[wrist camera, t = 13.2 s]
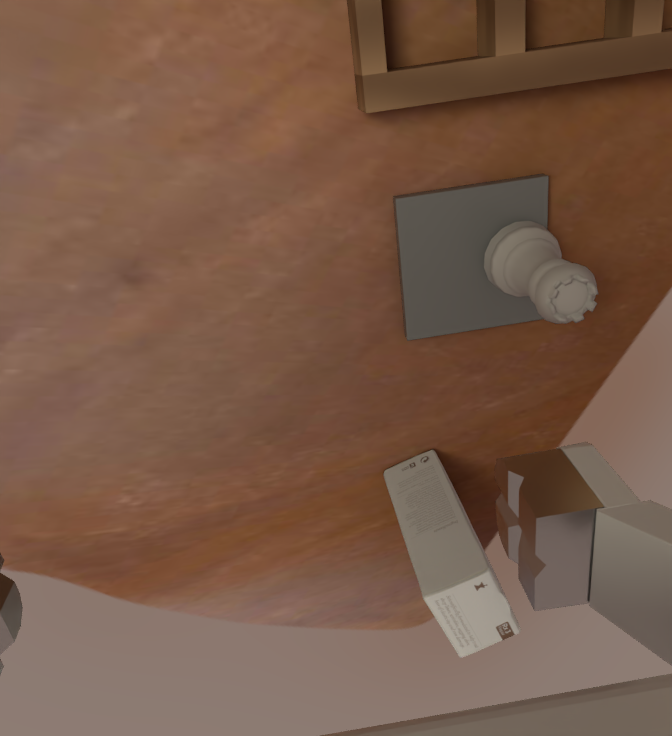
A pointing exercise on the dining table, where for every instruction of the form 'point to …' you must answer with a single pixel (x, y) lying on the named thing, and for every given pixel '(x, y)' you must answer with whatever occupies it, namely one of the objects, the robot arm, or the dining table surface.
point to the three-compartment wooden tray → (506, 55)
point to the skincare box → (448, 556)
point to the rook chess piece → (539, 272)
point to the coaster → (461, 254)
